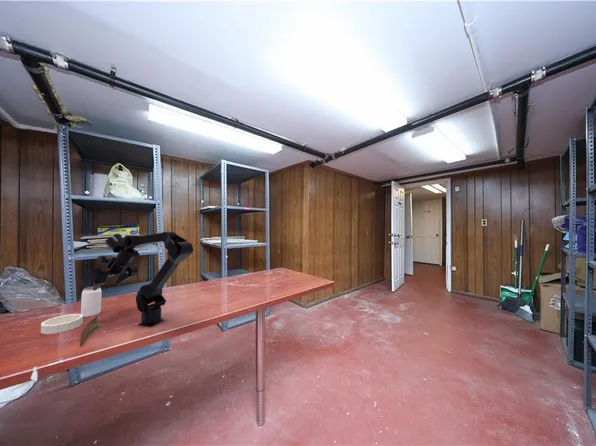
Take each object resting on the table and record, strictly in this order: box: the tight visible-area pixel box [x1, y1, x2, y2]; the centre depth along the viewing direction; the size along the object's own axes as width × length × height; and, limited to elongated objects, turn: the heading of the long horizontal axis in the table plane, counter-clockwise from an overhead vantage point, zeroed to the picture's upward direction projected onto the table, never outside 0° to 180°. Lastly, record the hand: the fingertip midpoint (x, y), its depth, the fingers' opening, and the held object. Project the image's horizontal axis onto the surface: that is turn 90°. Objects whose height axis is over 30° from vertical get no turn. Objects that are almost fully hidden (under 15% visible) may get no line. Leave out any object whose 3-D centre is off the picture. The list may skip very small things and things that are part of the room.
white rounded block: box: [80, 286, 102, 318], centre depth 97 cm, size 6×6×12 cm
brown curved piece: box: [78, 315, 104, 347], centre depth 78 cm, size 15×2×5 cm, turn 26°
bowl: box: [40, 313, 84, 335], centre depth 84 cm, size 11×11×3 cm
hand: (105, 287), depth 95 cm, fingers open, 9 cm apart
